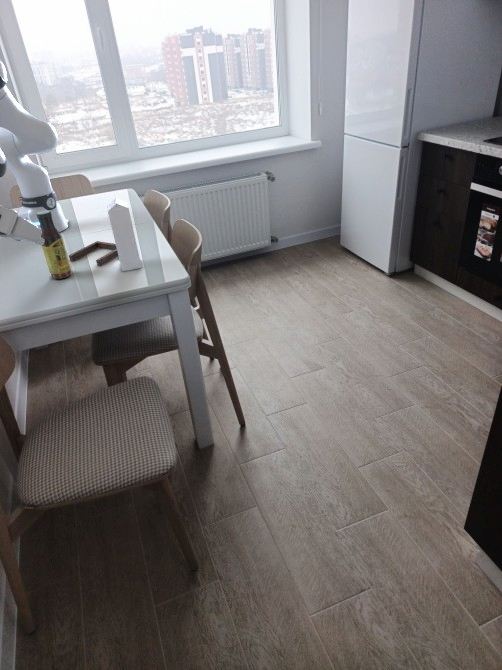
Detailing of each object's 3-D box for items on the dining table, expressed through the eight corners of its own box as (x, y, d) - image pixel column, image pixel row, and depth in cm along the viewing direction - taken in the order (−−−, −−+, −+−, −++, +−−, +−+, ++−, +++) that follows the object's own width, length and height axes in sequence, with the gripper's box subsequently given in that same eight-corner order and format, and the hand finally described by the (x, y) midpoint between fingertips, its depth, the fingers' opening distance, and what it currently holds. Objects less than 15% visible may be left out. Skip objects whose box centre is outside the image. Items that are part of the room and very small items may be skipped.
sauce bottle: (66, 280, 143) (45, 216, 132) (47, 280, 144) (26, 216, 134) (76, 271, 148) (58, 208, 138) (59, 270, 150) (39, 209, 139)
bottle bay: (70, 260, 156) (68, 255, 155) (98, 246, 166) (97, 240, 165) (100, 266, 150) (98, 260, 149) (127, 250, 160) (126, 245, 159)
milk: (122, 271, 145) (104, 200, 134) (121, 264, 150) (103, 195, 139) (142, 267, 147) (126, 196, 135) (140, 260, 152) (124, 191, 140)
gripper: (-41, 225, 126) (3, 246, 139) (9, 233, 117) (51, 255, 130) (-33, 203, 127) (10, 226, 139) (17, 210, 118) (59, 234, 130)
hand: (30, 240), depth 134 cm, fingers open, 8 cm apart
